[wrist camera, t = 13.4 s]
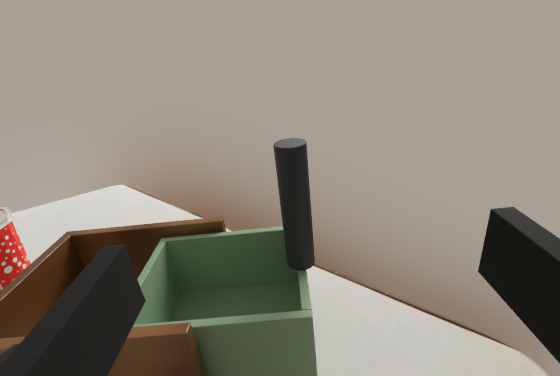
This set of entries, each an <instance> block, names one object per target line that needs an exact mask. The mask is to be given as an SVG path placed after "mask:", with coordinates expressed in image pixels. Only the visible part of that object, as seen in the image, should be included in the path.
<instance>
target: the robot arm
mask: <svg viewBox="0 0 560 376" xmlns="http://www.w3.org/2000/svg"><path fill="white" fill-rule="evenodd" d="M478 272H479V273H480V274H481V275H482V276H483V277H484V279H485V280H486V281H487V282H488V283H489V284H490V285H491V287H492V288H493V289H494V290H495V291H496V292H497V293H498V294H499V296H500V297H501V298H502V299H503V300H504V301H505V302H506V303H507V305H508V306H509V307H510V308H511V309H512V310H513V311H514V312H515V313H516V315H517V316H518V317H519V318H520V319H521V320H522V321H523V323H524V324H525V325H526V326H527V327H528V328H529V329H530V330H531V331H532V333H533V334H534V335H535V336H536V337H537V338H538V339H539V340H540V342H541V343H542V344H543V345H544V346H545V347H546V348H547V349H548V350H549V352H550V353H551V354H552V355H553V356H554V357H555V359H556V360H557V361H558V362H559V363H560V239H559V238H558V237H556V236H555V235H553V234H552V233H550V232H549V231H548V230H546V229H545V228H543V227H542V226H540V225H538V224H537V223H536V222H534V221H533V220H532V219H530V218H529V217H527V216H526V215H524V214H523V213H521V212H519V211H518V210H517V209H515V208H514V207H509V208H498V209H491V211H490V217H489V221H488V226H487V231H486V236H485V241H484V246H483V250H482V256H481V260H480V265H479V270H478ZM145 302H146V300H145V298H144V295H143V293H142V290H141V287H140V285H139V282H138V280H137V277H136V274H135V272H134V269H133V267H132V264H131V261H130V259H129V256H128V254H127V251H126V248H125V246H124V244H123V245H112V246H103V248H102V249H101V250H100V251H99V252H98V253H97V255H96V256H95V257H94V258H93V259H92V260H91V261H90V263H89V264H88V265H87V266H86V267H85V268H84V270H83V271H82V272H81V273H80V274H79V275H78V277H77V278H76V279H75V280H74V281H73V282H72V284H71V285H70V286H69V287H68V288H67V289H66V291H65V292H64V293H63V294H62V295H61V296H60V298H59V299H58V300H57V301H56V302H55V303H54V305H53V306H52V307H51V308H50V309H49V310H48V312H47V313H46V314H45V315H44V316H43V317H42V319H41V320H40V321H39V322H38V323H37V324H36V326H35V327H34V328H33V329H32V330H31V331H30V332H29V334H28V335H27V336H26V337H25V338H24V339H23V341H22V342H21V343H20V344H14V345H12V346H11V347H10V348H8V349H7V350H6V351H5V352H3V353H2V354H1V355H0V376H108V374H109V372H110V370H111V368H112V366H113V364H114V362H115V360H116V358H117V356H118V354H119V352H120V350H121V348H122V347H123V345H124V343H125V341H126V339H127V337H128V335H129V333H130V331H131V329H132V327H133V325H134V323H135V321H136V319H137V317H138V315H139V313H140V311H141V309H142V307H143V305H144V303H145Z"/></svg>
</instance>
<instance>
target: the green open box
mask: <svg viewBox="0 0 560 376" xmlns="http://www.w3.org/2000/svg"><path fill="white" fill-rule="evenodd" d="M274 153H275V162H276V170H277V179H278V188H279V195H280V205H281V213H282V221H283V227H273V228H262V229H252V230H241V231H231V232H220V233H210V234H199V235H189V236H178V237H168V238H161V240H160V242H159V243H158V245H157V247H156V249H155V250H154V252H153V254H152V255H151V257H150V259H149V260H148V262H147V264H146V265H145V267H144V269H143V270H142V272H141V274H140V276H139V277H138V279H137V280H138V282H139V285H140V287H141V290H142V293H143V295H144V298H145V300H146V302H145V303H144V305H143V307H142V309H141V311H140V313H139V315H138V317H137V319H136V321H135V323H134V325H133V327H141V326H152V325H164V324H176V323H187V322H190V323H191V326H192V329H193V332H194V336H195V339H196V342H197V345H198V349H199V352H200V355H201V358H202V362H203V365H204V368H205V371H206V374H207V376H317V366H316V354H315V342H314V329H313V317H312V310H311V302H310V295H309V287H308V280H307V273H306V270H307V269H309V268H311V267H312V266H313V265H314V262H315V259H314V245H313V231H312V216H311V203H310V188H309V175H308V174H309V173H308V160H307V145H306V141H305V140H303V139H298V138H290V139H284V140H280V141H277V142H276V143H274Z"/></svg>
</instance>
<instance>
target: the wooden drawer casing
mask: <svg viewBox="0 0 560 376" xmlns="http://www.w3.org/2000/svg"><path fill="white" fill-rule="evenodd" d="M220 232H226V229H225V224H224V219H223V217H217V218H206V219H195V220H185V221H175V222H164V223H154V224H144V225H133V226H123V227H113V228H102V229H92V230H82V231H71V232H66V233H65V234H64V235H63V236H62V237H61V238H60V239H59V240H57V241H56V242H55V243H54V244H53V245H52V246H51V247H50V248H49V249H47V250H46V251H45V252H44V253H43V254H42V255H41V256H40V257H38V258H37V259H36V260H35V261H34V262H33V263H32V264H31V265H29V266H28V267H27V268H26V269H25V270H24V271H23V272H22V273H21V274H19V275H18V276H17V277H16V278H15V279H14V280H13V281H12V282H10V283H9V284H8V285H7V286H6V287H5V288H4V289H3V290H2V291H0V355H1V354H2V353H3V352H5V351H6V350H7V349H8V348H10V347H11V346H12V345H14V344H20V343H21V342H22V341H23V339H24V338H25V337H26V336H27V335H28V334H29V332H30V331H31V330H32V329H33V328H34V327H35V326H36V324H37V323H38V322H39V321H40V320H41V319H42V317H43V316H44V315H45V314H46V313H47V312H48V310H49V309H50V308H51V307H52V306H53V305H54V303H55V302H56V301H57V300H58V299H59V298H60V296H61V295H62V294H63V293H64V292H65V291H66V289H67V288H68V287H69V286H70V285H71V284H72V282H73V281H74V280H75V279H76V278H77V277H78V275H79V274H80V273H81V272H82V271H83V270H84V268H85V267H86V266H87V265H88V264H89V263H90V261H91V260H92V259H93V258H94V257H95V256H96V255H97V253H98V252H99V251H100V250H101V249H102V248H103V246H112V245H123V244H124V246H125V248H126V251H127V254H128V256H129V259H130V261H131V264H132V267H133V269H134V272H135V274H136V277H137V279H138V277H139V276H140V274H141V272H142V270H143V269H144V267H145V265H146V264H147V262H148V260H149V259H150V257H151V255H152V254H153V252H154V250H155V249H156V247H157V245H158V243H159V242H160V240H161V238H168V237H178V236H189V235H199V234H210V233H220ZM108 376H207V374H206V371H205V368H204V365H203V362H202V358H201V355H200V352H199V349H198V345H197V342H196V339H195V336H194V332H193V329H192V326H191V323H190V322H187V323H176V324H164V325H152V326H141V327H132V329H131V331H130V333H129V335H128V337H127V339H126V341H125V343H124V345H123V347H122V348H121V350H120V352H119V354H118V356H117V358H116V360H115V362H114V364H113V366H112V368H111V370H110V372H109V374H108Z"/></svg>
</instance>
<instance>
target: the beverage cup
mask: <svg viewBox="0 0 560 376" xmlns="http://www.w3.org/2000/svg"><path fill="white" fill-rule="evenodd" d="M13 218H14V217H13V216H12V213H11V211H10V210H9V208H6V207H0V291H2V290H3V289H4V288H5V287H6V286H7V285H8V284H9V283H10V282H12V281H13V280H14V279H15V278H16V277H17V276H18V275H19V274H21V273H22V272H23V271H24V270H25V269H26V268H27V267H28V266H29V265H31V264H30V261H29V259H28V257H27V254H26V252H25V250H24V248H23V245H22V243H21V241H20V239H19V236H18V234H17V232H16V230H15V227H14V225H13V223H12V220H13Z"/></svg>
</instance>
